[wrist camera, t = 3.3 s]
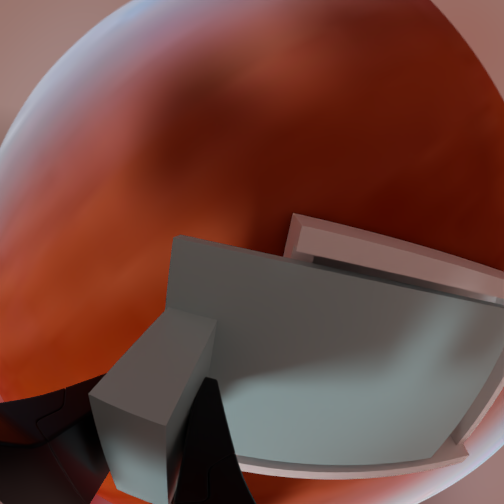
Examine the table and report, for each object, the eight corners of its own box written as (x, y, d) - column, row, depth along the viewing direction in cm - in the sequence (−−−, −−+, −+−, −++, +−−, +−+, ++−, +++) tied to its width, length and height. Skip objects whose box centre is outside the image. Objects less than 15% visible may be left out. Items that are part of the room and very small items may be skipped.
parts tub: (437, 415, 14) (462, 461, 9) (246, 402, 15) (233, 469, 10) (504, 272, 12) (558, 298, 7) (292, 212, 12) (302, 225, 7)
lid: (427, 450, 10) (454, 516, 5) (165, 425, 10) (124, 510, 5) (511, 306, 8) (583, 356, 3) (180, 234, 8) (70, 285, 4)
